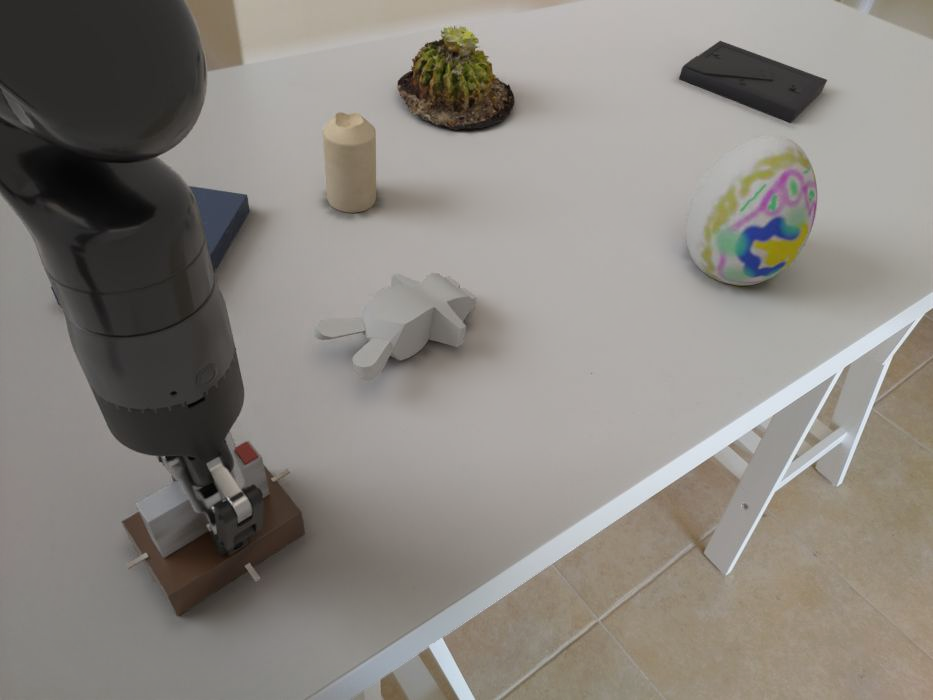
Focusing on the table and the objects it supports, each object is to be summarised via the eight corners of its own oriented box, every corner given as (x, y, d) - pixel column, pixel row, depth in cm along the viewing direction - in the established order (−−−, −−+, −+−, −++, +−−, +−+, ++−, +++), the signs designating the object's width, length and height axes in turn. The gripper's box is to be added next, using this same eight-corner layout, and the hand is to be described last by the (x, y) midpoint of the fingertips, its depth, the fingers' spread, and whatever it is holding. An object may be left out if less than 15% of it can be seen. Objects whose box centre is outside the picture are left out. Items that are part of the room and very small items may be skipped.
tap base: (179, 657, 48) (169, 638, 45) (101, 526, 53) (88, 503, 51) (338, 550, 54) (335, 527, 51) (251, 442, 59) (246, 418, 57)
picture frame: (678, 78, 111) (790, 123, 104) (683, 64, 109) (797, 108, 103) (715, 52, 119) (822, 91, 112) (720, 38, 117) (828, 77, 110)
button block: (179, 331, 67) (170, 299, 64) (52, 311, 68) (37, 278, 65) (250, 211, 80) (244, 180, 77) (143, 195, 81) (134, 163, 78)
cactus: (528, 129, 97) (540, 57, 90) (409, 135, 94) (411, 61, 87) (495, 68, 108) (503, 0, 101) (388, 71, 105) (388, 1, 98)
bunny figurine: (501, 299, 68) (374, 362, 59) (490, 340, 71) (369, 406, 62) (432, 248, 72) (304, 299, 63) (425, 289, 75) (303, 344, 66)
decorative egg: (700, 304, 76) (753, 179, 65) (657, 230, 84) (697, 109, 73) (806, 295, 78) (874, 173, 67) (754, 224, 86) (807, 106, 75)
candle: (316, 200, 83) (310, 118, 75) (349, 179, 86) (346, 99, 79) (354, 219, 81) (351, 137, 74) (386, 197, 84) (386, 117, 77)
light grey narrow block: (163, 558, 49) (146, 520, 45) (151, 539, 50) (134, 501, 46) (270, 494, 53) (262, 455, 49) (257, 477, 54) (248, 438, 50)
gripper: (35, 304, 41) (117, 478, 53) (152, 477, 34) (215, 631, 46) (165, 254, 44) (213, 427, 57) (295, 400, 37) (317, 561, 50)
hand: (214, 518), depth 51 cm, fingers closed on tap base, 4 cm apart
